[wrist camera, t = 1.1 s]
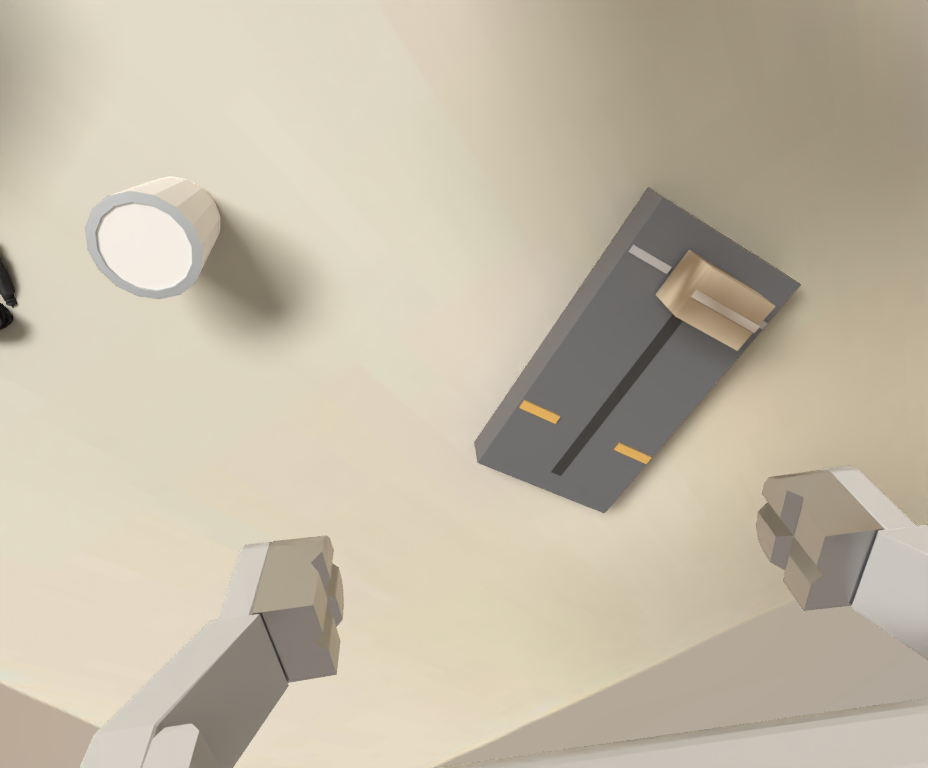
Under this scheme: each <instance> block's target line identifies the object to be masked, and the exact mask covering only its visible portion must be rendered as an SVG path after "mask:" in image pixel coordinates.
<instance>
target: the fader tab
mask: <svg viewBox="0 0 928 768" xmlns="http://www.w3.org/2000/svg"><path fill="white" fill-rule="evenodd" d="M655 295H656V296H657V297H658V298H659V299H660V300H661V301H662V302H663V304H664V305H665V306H666V307H667V308H668V309H669V310H670V311H671V312H672V313H673V314H674V316H675V317H677V318H679V319H681V320H682V321H684V322H686V323H688V324H690V325H692V326H693V327H695V328H697V329H699V330H701V331H702V332H704V333H706V334H708V335H710V336H711V337H713V338H715V339H717V340H719V341H720V342H722V343H724V344H726V345H728V346H729V347H731V348H733V349H735V350H737V351H738V350H739V349H740V347H741V346H742V345H743V344H744V343H745V342H746V340H747V339H748V338H749V337H750V336H751V335H752V333H755V332H756V331H757V330H758V328H759V327H760V326H759V325H760V324H761V323H762V322H763V320H764V319H765V318H766V317H767V316H768V315H769V313H770V312H771V311H772V310H773V309H774V308H775V305H774V304H772V303H771V302H770V301H768V300H767V299H766V298H764V297H763V296H762V295H760V294H759V293H758V292H757V291H755V290H754V289H753V288H751V287H750V286H749V285H747V284H746V283H744V282H742V281H741V280H739V279H737V278H736V277H734V276H732V275H731V274H729V273H727V272H726V271H724V270H722V269H721V268H719V267H718V266H716V265H714V264H713V263H711V262H709V261H708V260H706V259H704V258H703V257H701V256H699V255H698V254H696V253H694V252H693V251H691V250H688V252H687V253H686V254H685V256H684V257H683V258H682V260H681V261H680V262H679V264H678V265H677V266H676V268H675V269H674V270H673V272H672V273H671V274H670V276H669V277H668V278H667V280H666V281H665V282H664V284H663V285H662V286H661V288H660V289H659V290H658V292H657V293H656V294H655Z"/></svg>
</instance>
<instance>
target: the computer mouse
mask: <svg viewBox="0 0 928 768" xmlns="http://www.w3.org/2000/svg"><path fill="white" fill-rule="evenodd" d="M14 292H15V290H14V287H13V285H12V282H11V279H10V277H9V275H8V273H7V271H6V269H5V267H4V265H3V263H2V261H1V259H0V294H1V295H2V297H3V299H4V300H5V301H6V304H7V305H9V306H10V305H11V306H12V307H13V308H14V305H15V304H17V301H16V298H15V297H14ZM1 305H2V306H1ZM12 321H13V316H11V315H10V313H9V310H8V309H7V308H6V307H5V306H4V305H3V304H1V303H0V330H1V329H4V328H6V327H7V326H8V325H10V323H12Z"/></svg>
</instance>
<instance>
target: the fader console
mask: <svg viewBox="0 0 928 768" xmlns="http://www.w3.org/2000/svg"><path fill="white" fill-rule="evenodd" d="M688 250H691V251H693V252H694V253H696V254H698V255H699V256H701V257H703V258H704V259H706V260H708V261H709V262H711V263H713V264H714V265H716V266H718V267H719V268H721V269H722V270H724V271H726V272H727V273H729V274H731V275H732V276H734V277H736V278H737V279H739V280H741V281H742V282H744V283H746V284H747V285H749V286H750V287H751V288H753V289H754V290H755V291H757V292H758V293H759V294H760V295H762V296H763V297H764V298H766V299H767V300H768V301H770V302H771V303H772V304H774V305H775V308H774V309H773V310H772V311H771V312H770V313H769V315H768V316H767V317H766V318H765V319H764V320H763V322H762V323H761V324H760V325H759V326H760V327H759V328H758V330H757V331H756V332H755V333H752V335H751V336H750V337H749V338H748V339H747V340H746V342H745V343H744V344H743V345H742V346H741V347H740V349H739V350H738V351H737V350H735V349H733V348H731V347H729V346H728V345H726V344H724V343H722V342H720V341H719V340H717V339H715V338H713V337H711V336H710V335H708V334H706V333H704V332H702V331H701V330H699V329H697V328H695V327H693V326H692V325H690V324H688V323H686V322H684V321H682V320H681V319H679V318H677V317H675V316H674V314H673V313H672V312H671V311H670V310H669V309H668V308H667V307H666V306H665V305H664V304H663V302H662V301H661V300H660V299H659V298H658V297H657V296H656V295H655V294H656V293H657V292H658V290H659V289H660V288H661V286H662V285H663V284H664V282H665V281H666V280H667V278H668V277H669V276H670V274H671V273H672V272H673V270H674V269H675V268H676V266H677V265H678V264H679V262H680V261H681V260H682V258H683V257H684V256H685V254H686V253H687V252H688ZM800 285H801V284H800V283H798V282H796V281H795V280H793V279H792V278H790V277H789V276H787V275H786V274H784V273H783V272H781V271H780V270H778V269H777V268H775V267H774V266H772V265H770V264H769V263H767V262H766V261H764V260H762V259H761V258H759V257H758V256H756V255H755V254H753V253H751V252H750V251H748V250H747V249H745V248H743V247H742V246H740V245H739V244H737V243H736V242H734V241H732V240H731V239H729V238H728V237H726V236H724V235H723V234H721V233H720V232H718V231H716V230H715V229H713V228H712V227H710V226H709V225H707V224H705V223H704V222H702V221H701V220H699V219H697V218H696V217H694V216H693V215H691V214H690V213H688V212H686V211H685V210H683V209H682V208H680V207H678V206H677V205H675V204H674V203H672V202H671V201H669V200H667V199H666V198H664V197H663V196H661V195H659V194H658V193H656V192H655V191H653V190H652V189H650V188H648V189H647V190H646V192H645V193H644V195H643V196H642V197H641V199H640V200H639V202H638V203H637V205H636V206H635V208H634V209H633V211H632V212H631V214H630V215H629V216H628V218H627V219H626V221H625V222H624V224H623V225H622V227H621V228H620V230H619V231H618V233H617V234H616V236H615V237H614V238H613V240H612V241H611V243H610V244H609V246H608V247H607V249H606V250H605V252H604V253H603V255H602V256H601V258H600V259H599V260H598V262H597V263H596V265H595V266H594V268H593V269H592V271H591V272H590V274H589V275H588V277H587V278H586V280H585V281H584V282H583V284H582V285H581V287H580V288H579V290H578V291H577V293H576V294H575V296H574V297H573V299H572V300H571V302H570V303H569V304H568V306H567V307H566V309H565V310H564V312H563V313H562V315H561V316H560V318H559V319H558V321H557V322H556V323H555V325H554V326H553V328H552V329H551V331H550V332H549V334H548V335H547V337H546V338H545V340H544V341H543V343H542V344H541V345H540V347H539V348H538V350H537V351H536V353H535V354H534V356H533V357H532V359H531V360H530V362H529V363H528V365H527V366H526V367H525V369H524V370H523V372H522V373H521V375H520V376H519V378H518V379H517V381H516V382H515V384H514V385H513V387H512V388H511V389H510V391H509V392H508V394H507V395H506V397H505V398H504V400H503V401H502V403H501V404H500V406H499V407H498V409H497V410H496V411H495V413H494V414H493V416H492V417H491V419H490V420H489V422H488V423H487V425H486V426H485V428H484V429H483V430H482V432H481V433H480V435H479V436H478V438H477V439H476V441H475V442H474V443H475V449H476V455H477V461H478V463H480V464H482V465H485V466H487V467H490V468H492V469H495V470H497V471H500V472H502V473H505V474H507V475H510V476H512V477H515V478H517V479H520V480H522V481H525V482H527V483H530V484H532V485H535V486H537V487H540V488H542V489H545V490H547V491H550V492H552V493H555V494H557V495H560V496H562V497H565V498H567V499H570V500H572V501H575V502H577V503H580V504H582V505H585V506H587V507H590V508H592V509H595V510H597V511H600V512H602V513H605V512H606V511H607V510H608V509H609V508H610V506H611V505H612V504H613V503H614V502H615V501H616V499H617V498H618V497H619V496H620V495H621V494H622V492H623V491H624V490H625V489H626V488H627V487H628V485H629V484H630V483H631V482H632V481H633V480H634V478H635V477H636V476H637V475H638V474H639V473H640V471H641V470H642V469H643V468H644V467H645V466H646V464H647V463H648V462H649V461H650V460H651V459H652V458H653V456H654V455H655V454H656V453H657V452H658V451H659V449H660V448H661V447H662V446H663V445H664V444H665V442H666V441H667V440H668V439H669V438H670V437H671V435H672V434H673V433H674V432H675V431H676V430H677V428H678V427H679V426H680V425H681V424H682V423H683V421H684V420H685V419H686V418H687V417H688V416H689V414H690V413H691V412H692V411H693V410H694V409H695V407H696V406H697V405H698V404H699V403H700V402H701V401H702V399H703V398H704V397H705V396H706V395H707V394H708V392H709V391H710V390H711V389H712V388H713V387H714V385H715V384H716V383H717V382H718V381H719V380H720V378H721V377H722V376H723V375H724V374H725V373H726V371H727V370H728V369H729V368H730V367H731V366H732V364H733V363H734V362H735V361H736V360H737V359H738V357H739V356H740V355H741V354H742V353H743V352H744V350H745V349H746V348H747V347H748V346H749V345H750V344H751V342H752V341H753V340H754V339H755V338H756V337H757V335H758V334H759V333H760V332H761V331H762V330H763V328H764V327H765V326H766V325H767V324H768V323H769V321H770V320H771V319H772V318H773V317H774V316H775V314H776V313H777V312H778V311H779V310H780V309H781V307H782V306H783V305H784V304H785V303H786V302H787V300H788V299H789V298H790V297H791V296H792V295H793V293H794V292H795V291H796V290H797V289H798V288H799V286H800Z"/></svg>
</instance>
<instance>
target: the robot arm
mask: <svg viewBox="0 0 928 768" xmlns="http://www.w3.org/2000/svg"><path fill="white" fill-rule="evenodd" d="M762 495H763V496H764V497H765V499H766V500H767V501H768V502H767V503H766V504H765V505H764V506H763V507H762V508H761V509H760V510H759V511H758V515H757V522H756V529H757V535H758V540H759V543H760V545H761V547H762V550H763V552H764V553H765V555H766V556H767V558H768V559H769V561H770V562H771V563H773V564H775V565H777V566H778V567H780V568H782V569H784V570H785V572H784V578H783V582H784V583H785V584H786V586H787V587H788V589H789V590H790V592H791V593H792V595H793V596H794V597H795V599H796V600H797V602H798V603H799V605H800V606H801V608H802V609H803V610H804V611H805V610H814V609H823V608H832V607H842V606H851V605H852V607H851V608H852V609H853V610H855V611H857V612H858V613H859V614H861V615H862V616H864V617H865V618H867V619H868V620H870V621H871V622H873V623H874V624H876V625H877V626H878V627H880V628H881V629H883V630H885V631H886V632H887V633H889V634H890V635H892V636H893V637H895V638H896V639H898V640H899V641H900V642H902V643H903V644H905V645H906V646H908V647H909V648H911V649H912V650H914V651H915V652H917V653H918V654H920V655H921V656H923V657H924V658H925V659H927V660H928V526H927V525H918V526H916V525H915V524H914V523H913V522H912V521H911V520H910V519H909V518H908V517H907V516H906V515H905V514H904V513H903V512H902V511H901V510H900V509H899V508H898V507H897V506H895V505H894V504H893V503H892V502H891V501H890V500H889V499H888V498H887V497H886V496H885V495H884V494H883V493H882V492H881V491H880V490H879V489H878V488H877V487H876V486H875V485H874V484H873V483H872V482H871V481H870V480H869V479H868V478H867V477H866V476H865V475H864V474H863V473H862V472H860V471H859V470H858V469H857V468H855V467H852V466H843V467H836V468H829V469H823V470H816V471H809V472H802V473H795V474H788V475H781V476H774V477H769V478H768V479H767V480H766V482H765V483H764V486H763V491H762ZM333 552H334V550H333V547H332V544H331V540H330V537H328V536H318V537H308V538H299V539H290V540H280V541H273V542H268V543H258V544H248V545H245V546H244V547H243V548H242V550H241V551H240V553H239V556H238V559H237V562H236V566H235V569H234V572H233V575H232V578H231V581H230V585H229V588H228V591H227V594H226V597H225V601H224V604H223V607H222V610H221V613H220V616H219V619H217V620H211V621H209V622H208V623H207V624H206V625H205V626H204V627H203V628H202V629H201V630H200V631H199V632H198V633H197V634H196V635H195V636H194V637H193V638H192V639H191V640H190V641H189V642H188V643H187V644H186V645H185V646H184V647H183V648H182V649H181V650H180V651H179V652H178V653H177V654H176V655H175V656H174V657H173V658H172V659H170V660H169V661H168V662H167V663H166V664H165V665H164V666H163V667H162V668H161V669H160V670H159V671H158V672H157V673H156V674H155V675H154V676H153V677H152V678H151V679H150V680H149V681H148V682H147V683H146V684H145V685H144V686H143V687H142V688H141V689H140V690H139V691H138V692H137V693H136V694H135V695H134V696H133V697H132V698H131V699H130V700H129V701H128V702H127V703H126V704H125V705H124V706H123V707H122V708H120V709H119V710H118V711H117V712H116V713H115V714H114V715H113V716H112V717H111V718H110V719H109V720H108V721H107V722H106V723H105V724H104V725H103V726H102V727H101V728H100V729H99V730H98V731H97V732H96V733H95V734H94V736H93V738H92V741H91V743H90V745H89V747H88V750H87V752H86V754H85V756H84V759H83V761H82V763H81V765H80V768H233V767H234V765H235V764H236V762H237V761H238V759H239V758H240V756H241V755H242V754H243V752H244V751H245V749H246V748H247V746H248V745H249V743H250V742H251V740H252V739H253V737H254V736H255V734H256V733H257V731H258V730H259V728H260V727H261V726H262V724H263V723H264V721H265V720H266V718H267V717H268V715H269V714H270V712H271V711H272V709H273V708H274V706H275V705H276V703H277V702H278V700H279V699H280V698H281V696H282V695H283V693H284V692H285V690H286V689H287V687H288V686H289V685H288V683H289V682H295V681H301V680H307V679H313V678H319V677H325V676H331V675H337V667H338V658H339V649H340V638H339V635H338V632H337V628H336V627H337V625H338V624H339V623H340V622H341V621H342V619H343V608H344V597H343V584H342V578H341V574H340V570H339V567H337V566H336V565H334V564H333V563H332V560H333ZM435 768H928V698H923V699H917V700H909V701H902V702H895V703H888V704H881V705H873V706H866V707H859V708H852V709H845V710H839V711H832V712H824V713H818V714H810V715H803V716H796V717H789V718H783V719H775V720H768V721H761V722H754V723H747V724H740V725H734V726H726V727H719V728H712V729H705V730H698V731H691V732H684V733H677V734H670V735H663V736H656V737H649V738H642V739H635V740H627V741H620V742H613V743H606V744H599V745H591V746H584V747H577V748H571V749H563V750H556V751H549V752H542V753H534V754H527V755H521V756H513V757H507V758H499V759H492V760H485V761H478V762H471V763H464V764H457V765H449V766H442V767H435Z"/></svg>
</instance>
